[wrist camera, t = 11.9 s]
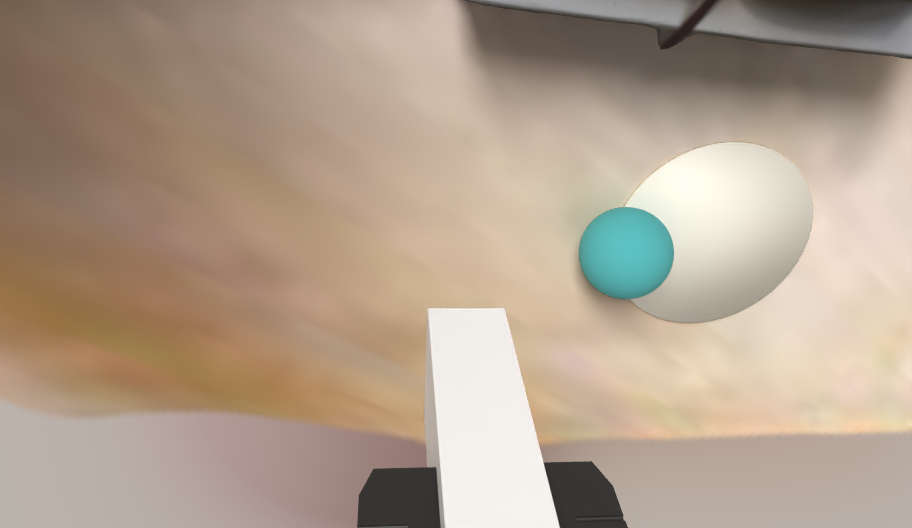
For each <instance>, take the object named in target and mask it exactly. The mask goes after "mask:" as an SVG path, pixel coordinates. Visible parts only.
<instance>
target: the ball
mask: <svg viewBox="0 0 912 528" xmlns="http://www.w3.org/2000/svg"><path fill="white" fill-rule="evenodd" d="M579 260H580V265H581V268H582V271H583V273H584V275H585V277H586V278H587V280H588V281H589V282H590V283H591V284H592V285H593V286H594V287H595V288H596V289H597V290H599V291H600V292H602V293H603V294H606V295H608V296H610V297H613V298H618V299H636V298H640V297H642V296H645V295H647V294H649V293H651V292H653V291H654V290H656V289H657V288H658V287H659V286H660V285H661V284H662V283H663V282H664V281H665V280H666V278H667V276H668V275H669V273H670V271H671V268H672V265H673V260H674V247H673V241H672V238H671V236H670V233H669V231H668V230H667V228H666V227H665V225H664V224H663V223H662V222H661V221H660V220H659V219H658V218H657V217H655V216H654V215H653V214H651V213H649V212H647V211H645V210H642V209H638V208H633V207H621V208H615V209H612V210H609V211H606V212H604V213H602V214H601V215H599V216H598V217H597V218H595V219H594V220H593V221H592V222H591V223H590V224H589V226H588V227H587V228H586V230H585V232H584V234H583V236H582V239H581V242H580V247H579Z"/></svg>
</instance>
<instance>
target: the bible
mask: <svg viewBox="0 0 912 528" xmlns="http://www.w3.org/2000/svg"><path fill="white" fill-rule="evenodd" d="M466 1H468V2H473V3H478V4H482V5H488V6H495V7H500V8H505V9H514V10H522V11H529V12H535V13H549V14H556V15H564V16H571V17H578V18H586V19H593V20H599V21H612V22H618V23H630V24H638V25H644V26H649V27H653V28H655V29H657V32H658V43H659V46H660V48H661V50H662V49H668V48H670V47H672V46H674V45H676V44H677V43H679V42H681V41H682V40H684V39H685V38H686V37H689V36H691V35H693V34H707V35H714V36H722V37H729V38H736V39H744V40H750V41H756V42H761V43H772V44H782V45H792V46H801V47H811V48H821V49H830V50H838V51H848V52H858V53H867V54H876V55H887V56H896V57H900V58H907V59H912V0H466Z"/></svg>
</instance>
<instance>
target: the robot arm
mask: <svg viewBox="0 0 912 528" xmlns="http://www.w3.org/2000/svg"><path fill="white" fill-rule="evenodd" d="M424 420H425V438H426V453H427V454H426V455H427V468H389V469H373V471H372V473H371V475H370V476H369V478H368V480H367V482H366V484H365V485H364V487H363V489H362V491H361V493H360V495H359V505H358V524H357V528H628V527H627V524H626V522H625V521H624V520H623V513H622V510H621V508H620V505H619V502H618V499H617V496H616V493H615V491H614V488H613V486H612V485H611V483H610V482H609V481H608V480H607V479H606V478H605V476H604V475H603V474H602V473H601V472H600V471H599V469H598V468H597V467H596V466H595V465H594V464H593V463H592V462H551V463H543V459H542V455H541V451H540V447H539V443H538V439H537V435H536V431H535V427H534V423H533V420H532V416H531V412H530V408H529V404H528V400H527V396H526V392H525V388H524V384H523V380H522V376H521V372H520V368H519V364H518V360H517V356H516V352H515V348H514V344H513V340H512V336H511V332H510V328H509V325H508V321H507V317H506V313H505V309H504V308H428V319H427V348H426V377H425V406H424Z"/></svg>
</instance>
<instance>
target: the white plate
mask: <svg viewBox="0 0 912 528" xmlns="http://www.w3.org/2000/svg"><path fill="white" fill-rule="evenodd" d="M624 207H633V208H638V209H642V210H645V211H647V212H649V213H651V214H653V215H654V216H655V217H657V218H658V219H659V220H660V221H661V222H662V223H663V224H664V225H665V227H666V228H667V230H668V231H669V233H670V236H671V238H672V241H673V247H674V260H673V265H672V268H671V271H670V273H669V275H668V276H667V278H666V280H665V281H664V282H663V283H662V284H661V285H660V286H659V287H658V288H657V289H656V290H654V291H653V292H651V293H649V294H647V295H645V296H642V297H640V298H636V299H630V300H631V301H632V302H633V303H634V304H635V305H636V306H637V307H639V308H640V309H642V310H643V311H645V312H646V313H649V314H651V315H653V316H655V317H658V318H661V319H664V320H668V321H674V322H685V323H694V322H705V321H711V320H716V319H719V318H723V317H726V316H729V315H732V314H734V313H737V312H739V311H741V310H743V309H745V308H747V307H749V306H751V305H753V304H754V303H756V302H757V301H759V300H761V299H762V298H763V297H765V296H766V295H767V294H769V293H770V292H771V291H772V290H773V289H775V288H776V287H777V286H778V285H779V284H780V283H781V282H782V281H783V280H784V279H785V277H786V276H787V275H788V274H789V273H790V272H791V270H792V269H793V267H794V266H795V265H796V263H797V262H798V260H799V258H800V256H801V255H802V253H803V251H804V249H805V246H806V244H807V242H808V239H809V235H810V231H811V227H812V220H813V203H812V197H811V193H810V190H809V187H808V184H807V182H806V180H805V179H804V177H803V175H802V173H801V172H800V171H799V170H798V169H797V167H796V166H795V165H794V164H793V163H792V162H791V161H789V160H788V159H787V158H786V157H785V156H783V155H781V154H780V153H778V152H776V151H775V150H772V149H770V148H767V147H765V146H762V145H758V144H753V143H747V142H721V143H715V144H709V145H705V146H702V147H699V148H695V149H693V150H690V151H688V152H685V153H683V154H681V155H679V156H677V157H675V158H674V159H672V160H670V161H668V162H667V163H665V164H664V165H662V166H661V167H660V168H658V169H657V170H655V171H654V172H653V173H652V174H651V175H650V176H649V177H647V178H646V179H645V180H644V181H643V182H642V183H641V184H640V186H639V187H638V188H637V189H636V190H635V191H634V193H633V194H632V195H631V197H630V198H629V200H628V201H627V202H626V204H625V206H624Z"/></svg>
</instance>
